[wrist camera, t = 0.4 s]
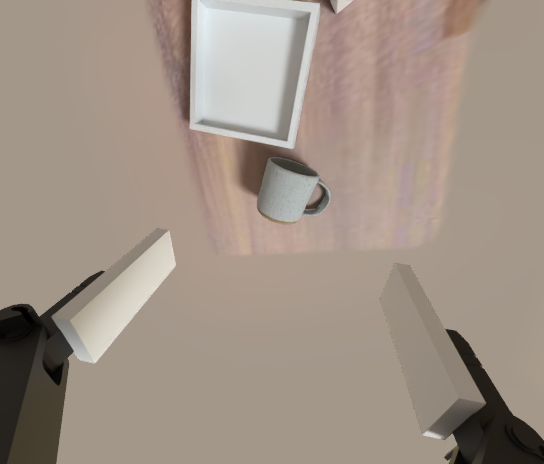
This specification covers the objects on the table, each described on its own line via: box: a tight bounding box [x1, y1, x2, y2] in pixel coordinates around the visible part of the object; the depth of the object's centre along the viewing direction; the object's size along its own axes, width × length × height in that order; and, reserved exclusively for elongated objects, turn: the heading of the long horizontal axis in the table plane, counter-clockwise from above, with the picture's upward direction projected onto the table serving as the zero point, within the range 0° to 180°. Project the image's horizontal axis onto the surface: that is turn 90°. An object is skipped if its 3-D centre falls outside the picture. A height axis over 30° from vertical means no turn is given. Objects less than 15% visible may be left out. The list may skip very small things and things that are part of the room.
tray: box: [190, 0, 320, 149], centre depth 32 cm, size 16×16×3 cm
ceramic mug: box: [257, 157, 331, 224], centre depth 34 cm, size 11×8×8 cm
